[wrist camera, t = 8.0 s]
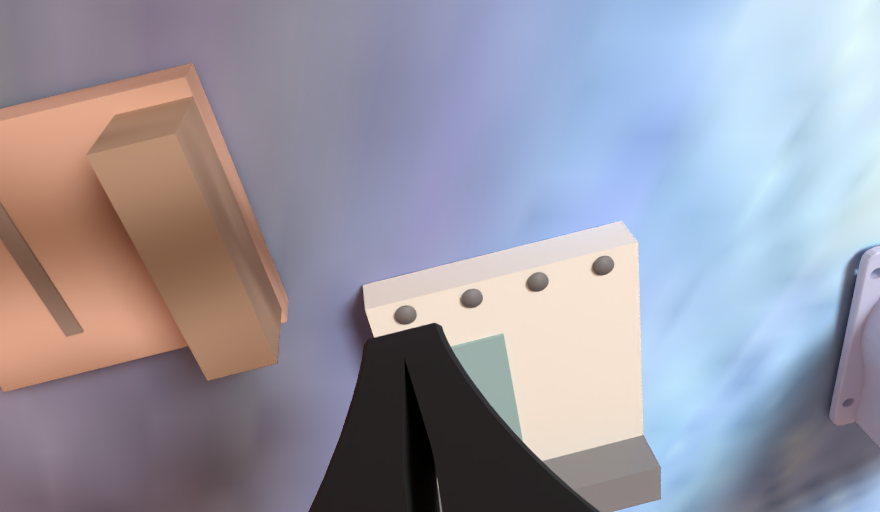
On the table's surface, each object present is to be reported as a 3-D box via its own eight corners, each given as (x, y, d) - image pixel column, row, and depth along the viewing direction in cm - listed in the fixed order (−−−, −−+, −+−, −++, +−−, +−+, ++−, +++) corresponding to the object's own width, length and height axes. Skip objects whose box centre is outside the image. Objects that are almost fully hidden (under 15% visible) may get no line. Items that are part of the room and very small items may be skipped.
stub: (288, 299, 22) (283, 375, 19) (19, 366, 22) (-31, 454, 19) (192, 62, 17) (165, 112, 14) (-148, 144, 17) (-250, 211, 14)
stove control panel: (630, 446, 29) (660, 504, 26) (430, 497, 29) (441, 561, 26) (621, 220, 22) (659, 269, 20) (362, 284, 22) (368, 342, 20)
